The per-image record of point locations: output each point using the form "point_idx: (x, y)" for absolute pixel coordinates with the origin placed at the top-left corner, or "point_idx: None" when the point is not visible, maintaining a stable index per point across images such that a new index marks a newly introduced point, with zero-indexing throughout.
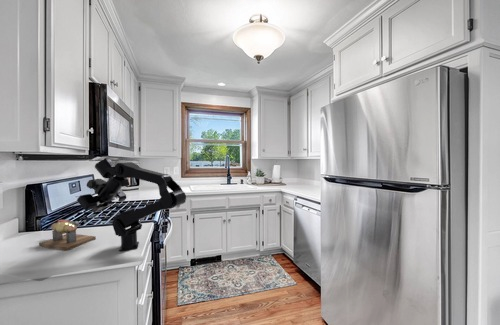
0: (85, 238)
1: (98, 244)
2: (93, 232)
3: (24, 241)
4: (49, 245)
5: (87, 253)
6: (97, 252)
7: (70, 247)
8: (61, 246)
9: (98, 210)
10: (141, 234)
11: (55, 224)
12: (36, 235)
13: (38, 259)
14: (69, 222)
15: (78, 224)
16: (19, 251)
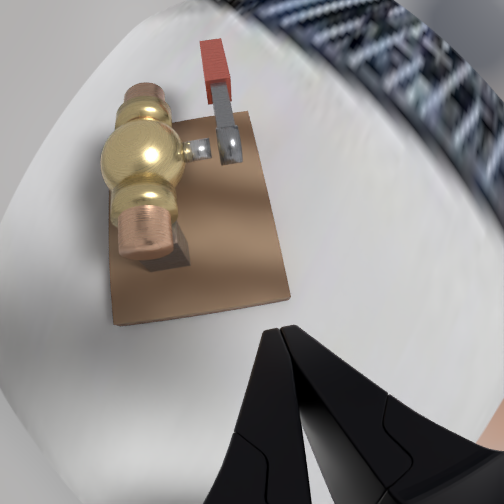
0: (239, 273)
1: None
2: (340, 170)
3: (144, 59)
4: (109, 197)
5: (151, 459)
6: (183, 493)
7: (132, 323)
8: (111, 278)
9: (306, 423)
10: None
11: (120, 110)
12: (197, 34)
13: (35, 300)
14: (213, 102)
15: (237, 161)
16: (71, 141)
